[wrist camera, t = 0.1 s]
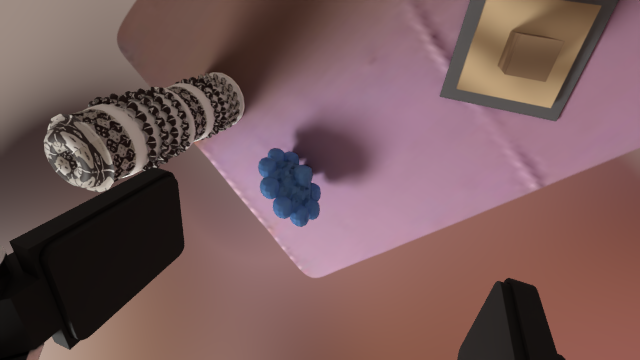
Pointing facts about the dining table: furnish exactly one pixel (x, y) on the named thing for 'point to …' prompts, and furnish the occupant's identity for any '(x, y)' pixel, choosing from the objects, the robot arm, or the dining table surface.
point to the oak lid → (525, 48)
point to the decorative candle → (140, 129)
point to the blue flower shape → (289, 187)
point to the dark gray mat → (450, 91)
